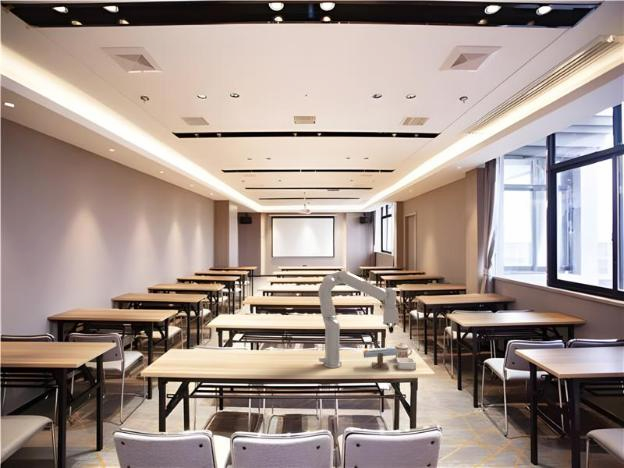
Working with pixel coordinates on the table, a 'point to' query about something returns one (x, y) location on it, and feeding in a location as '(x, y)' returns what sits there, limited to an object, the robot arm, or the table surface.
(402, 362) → the white rectangular tray
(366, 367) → the table surface
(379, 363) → the stand
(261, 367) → the table surface
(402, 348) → the teacup with lid
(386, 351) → the lever
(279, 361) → the table surface
